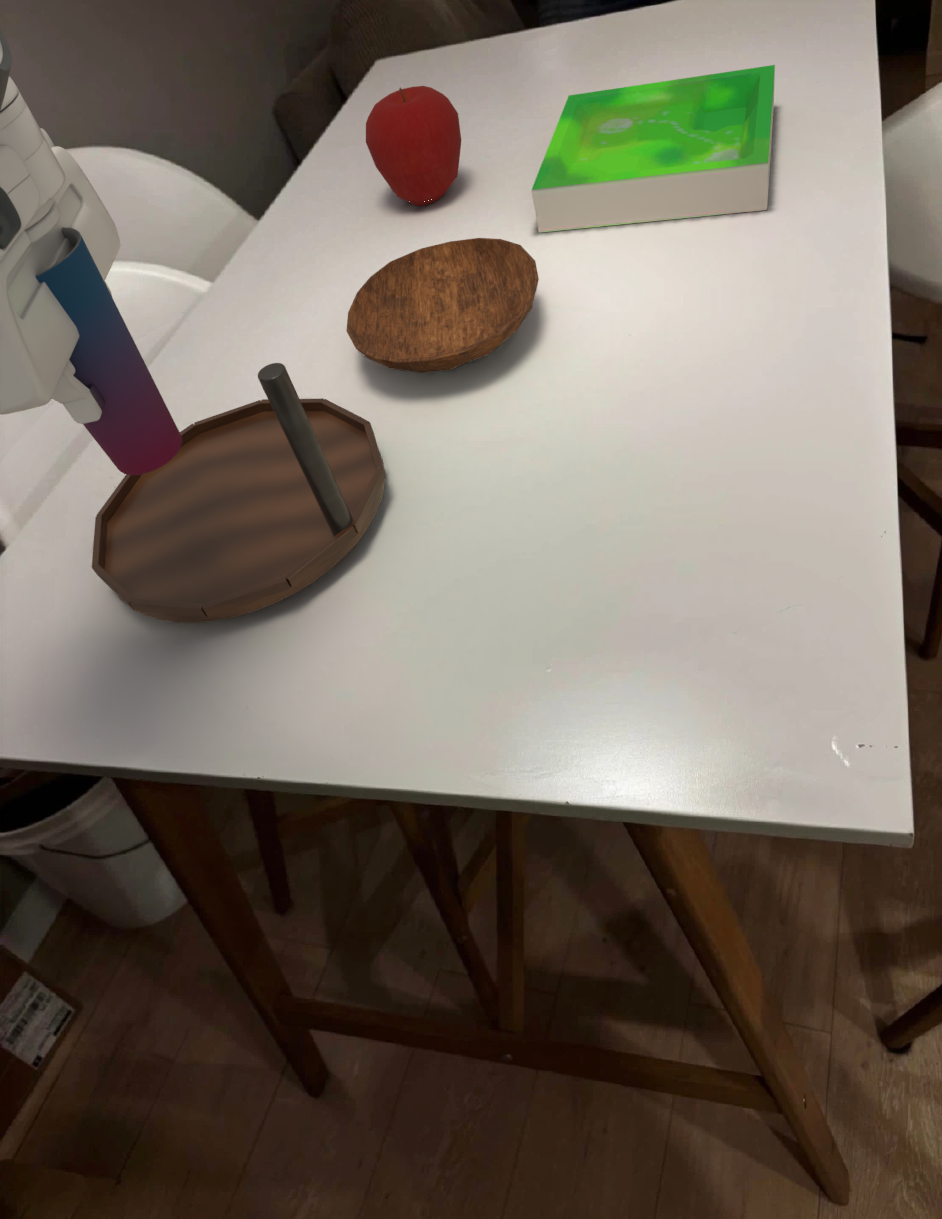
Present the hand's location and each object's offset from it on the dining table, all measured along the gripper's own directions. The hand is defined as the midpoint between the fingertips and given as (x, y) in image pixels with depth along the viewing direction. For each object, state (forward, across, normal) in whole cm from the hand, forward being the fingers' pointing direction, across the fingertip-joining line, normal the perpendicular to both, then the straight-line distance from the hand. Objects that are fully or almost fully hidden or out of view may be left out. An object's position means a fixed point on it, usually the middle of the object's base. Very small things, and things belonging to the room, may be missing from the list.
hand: (105, 383), depth 59 cm
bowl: (+21, -31, +20) cm, 42 cm away
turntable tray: (+19, -8, 0) cm, 21 cm away
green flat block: (+21, -57, +46) cm, 76 cm away
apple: (+21, -65, +18) cm, 71 cm away
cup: (+6, 0, 0) cm, 6 cm away
